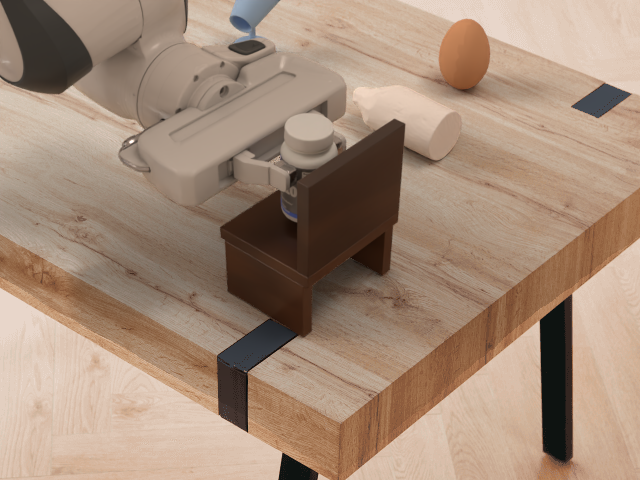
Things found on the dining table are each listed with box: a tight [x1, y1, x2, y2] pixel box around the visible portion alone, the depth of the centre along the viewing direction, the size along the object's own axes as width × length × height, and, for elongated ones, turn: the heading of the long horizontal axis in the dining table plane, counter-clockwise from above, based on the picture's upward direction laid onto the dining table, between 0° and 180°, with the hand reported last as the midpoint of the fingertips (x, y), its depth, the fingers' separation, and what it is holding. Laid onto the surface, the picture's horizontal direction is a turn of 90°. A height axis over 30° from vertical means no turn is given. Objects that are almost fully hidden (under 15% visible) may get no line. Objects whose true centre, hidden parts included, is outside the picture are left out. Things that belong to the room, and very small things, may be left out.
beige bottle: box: [352, 84, 463, 161], centre depth 113 cm, size 6×12×6 cm, turn 51°
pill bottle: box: [279, 113, 338, 222], centre depth 89 cm, size 5×5×8 cm
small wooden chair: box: [219, 119, 406, 338], centre depth 92 cm, size 10×12×16 cm
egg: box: [438, 18, 491, 90], centre depth 121 cm, size 6×6×8 cm
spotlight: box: [228, 0, 281, 43], centre depth 123 cm, size 5×10×7 cm
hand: (317, 164), depth 88 cm, fingers closed on pill bottle, 5 cm apart
